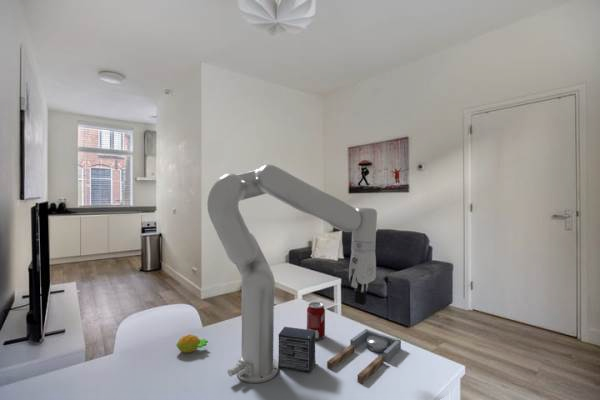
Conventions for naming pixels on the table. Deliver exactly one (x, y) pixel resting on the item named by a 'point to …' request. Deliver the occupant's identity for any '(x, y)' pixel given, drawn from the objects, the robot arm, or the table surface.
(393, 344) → the grey u-shaped frame
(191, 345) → the toy pineapple
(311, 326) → the soda can
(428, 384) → the table surface
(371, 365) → the walnut slot
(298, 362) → the small box
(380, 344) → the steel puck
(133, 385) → the table surface
